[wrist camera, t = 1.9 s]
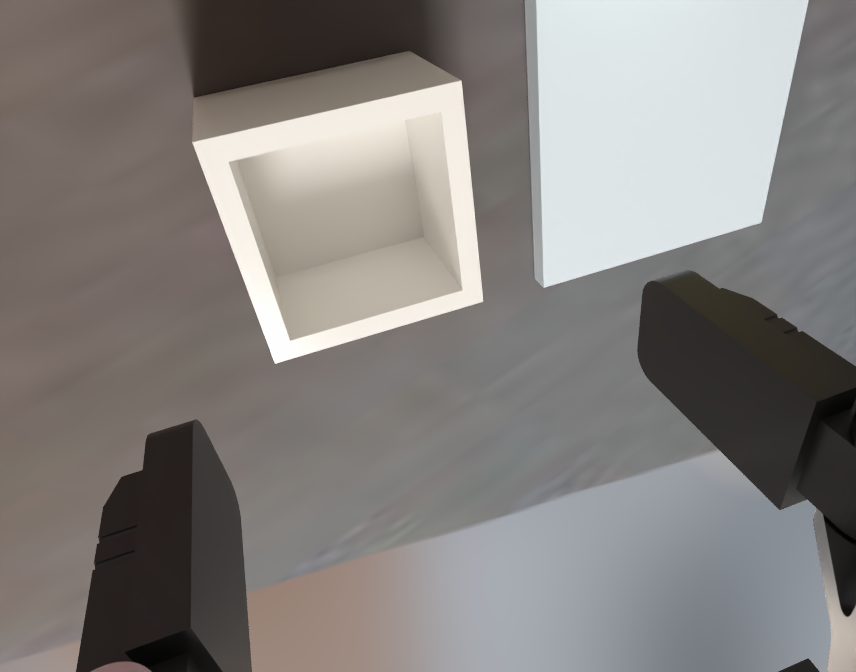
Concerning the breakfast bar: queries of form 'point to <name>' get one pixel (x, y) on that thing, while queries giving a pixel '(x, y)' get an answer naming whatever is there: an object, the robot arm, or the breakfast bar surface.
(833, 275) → the breakfast bar surface
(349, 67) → the pot white
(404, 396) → the breakfast bar surface
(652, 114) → the thin white panel
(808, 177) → the breakfast bar surface
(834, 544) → the robot arm
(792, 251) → the breakfast bar surface
